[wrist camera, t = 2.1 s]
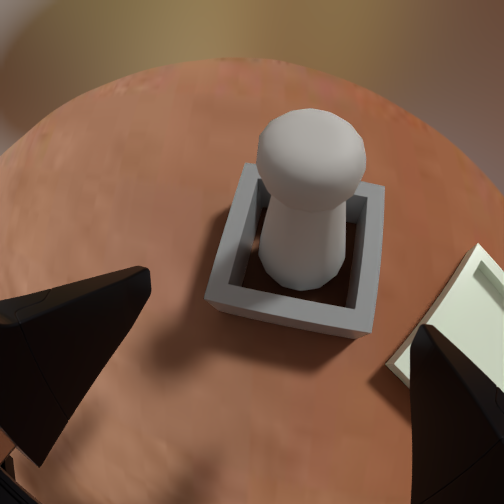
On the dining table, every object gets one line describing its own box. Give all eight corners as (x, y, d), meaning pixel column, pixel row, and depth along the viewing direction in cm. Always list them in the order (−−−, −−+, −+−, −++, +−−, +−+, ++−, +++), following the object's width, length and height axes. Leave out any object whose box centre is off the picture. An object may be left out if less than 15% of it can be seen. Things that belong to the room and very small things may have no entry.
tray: (470, 451, 14) (482, 456, 13) (385, 364, 18) (393, 363, 17) (538, 338, 16) (550, 335, 15) (467, 251, 21) (477, 243, 19)
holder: (356, 339, 19) (371, 332, 16) (218, 310, 21) (203, 298, 18) (371, 213, 23) (384, 186, 19) (251, 192, 25) (245, 162, 21)
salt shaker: (291, 314, 21) (296, 238, 9) (246, 252, 23) (203, 128, 11) (355, 267, 21) (419, 153, 9) (308, 211, 23) (319, 74, 11)
